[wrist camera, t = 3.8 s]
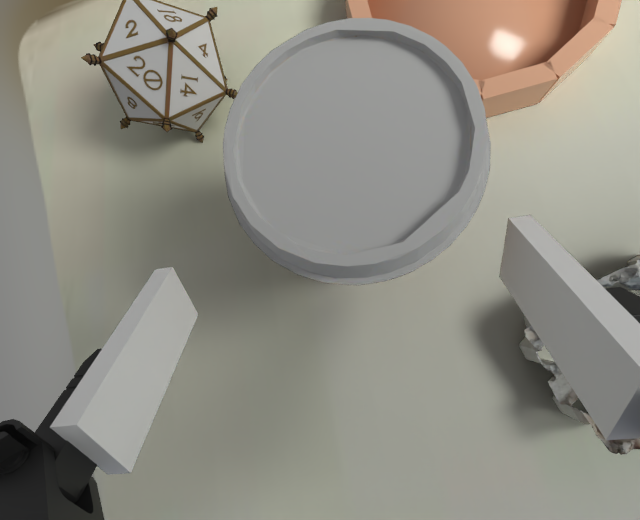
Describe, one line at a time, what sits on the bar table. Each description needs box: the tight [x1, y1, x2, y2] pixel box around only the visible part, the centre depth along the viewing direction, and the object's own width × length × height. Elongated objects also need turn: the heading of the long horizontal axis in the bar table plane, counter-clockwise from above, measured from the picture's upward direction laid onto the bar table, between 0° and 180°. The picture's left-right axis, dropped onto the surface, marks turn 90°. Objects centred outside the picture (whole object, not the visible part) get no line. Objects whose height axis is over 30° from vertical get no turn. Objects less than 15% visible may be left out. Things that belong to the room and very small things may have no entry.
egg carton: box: [519, 255, 640, 454], centre depth 18 cm, size 11×8×4 cm
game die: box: [81, 0, 238, 143], centre depth 22 cm, size 9×8×10 cm
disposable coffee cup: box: [223, 18, 490, 285], centre depth 17 cm, size 10×10×12 cm
